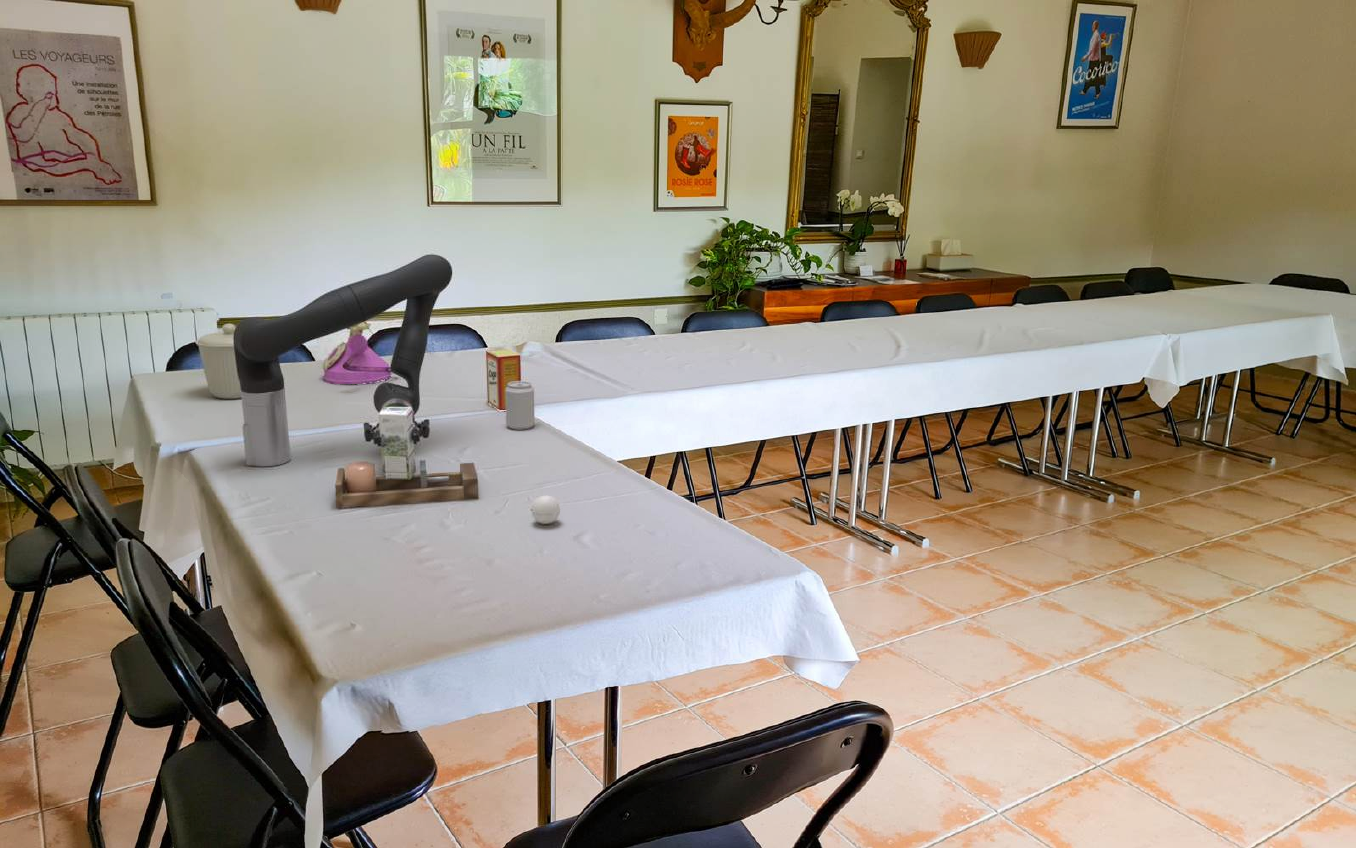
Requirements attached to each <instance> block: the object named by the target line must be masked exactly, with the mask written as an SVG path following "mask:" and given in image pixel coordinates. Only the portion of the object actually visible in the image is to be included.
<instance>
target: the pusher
mask: <svg viewBox="0 0 1356 848" xmlns="http://www.w3.org/2000/svg"><path fill="white" fill-rule="evenodd" d="M419 474H420V477H421V488H420V489H424V488H428V487H427V482H438V481H449V476H443V477H427V475H426V474H427V463H426V459H421V460H419Z"/></svg>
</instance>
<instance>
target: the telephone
mask: <svg viewBox="0 0 1356 848" xmlns="http://www.w3.org/2000/svg"><path fill="white" fill-rule="evenodd" d="M370 326H371V323H367V321H365V322H362V323H360V324H357V325H355V326H352V327H349V328H347V329H346V330H349V336H348V338H347V342H344V341H342V342H341V343H339V344H338V345H337V346H336V347H334V348H333V349H332V351H331V352H330V353H328V355H327V358H325V359H324V361H323V364H322V369H323V372H324V374H323V376H322V377H323V379H324V380H325V382H326V381H327V382H326V383H328V382H331V383H330V384H332V383H334V384H333V385H336V384H363V383H370V382H377V381H381V380H384V379H386V378H388V379H389V378H391V376H392V375H395V374H394V373H393V372H392V371H391V370H390V363H388V362H387V361H386V360H385V359H383V358H382V357H381V356H379V355H378V354H377V353H376V352H375V351H374V350H373V349H372V348H371V347H372V346H374V344H376V343H377V341H378V340H379V336H378V334H377V335H374V333H373V332H372V331H371V329H370ZM364 330H365V331H366V330H369V331H370V332H371V334H372V335H373V337H372V338H371V340H369V341H368V340H367V338H366V337H365V335H363V333H364ZM390 375H391V376H390ZM363 385H364V384H363Z"/></svg>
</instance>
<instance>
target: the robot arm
mask: <svg viewBox="0 0 1356 848" xmlns="http://www.w3.org/2000/svg"><path fill="white" fill-rule="evenodd" d="M452 277H453V267H452V265H451V263H450V262H449V260H447V258H445V257H443V256H441V255H438V254H434V253H433V254H432V253H431V254H425V255H422V256H420V257H419V258H417V259H415V260H413V261H411V262H409V263H407V264H405V265H402V266H401V267H399V268H397V269H394V270H392V271H389V272H386V273H383V274H378V275H375V276H372V277H368V278H365V279H362V280H358V281H355V282H353V283H349V284H346V285H343V286H341V287H338V288H335V289H333V290H330V291H328V292H326V293H324V294H322V295H320V296H319V297H317V298H315V299H313V300H312V301H311V302H309V303H308V304H307V305H305V306H304V307H302V308H301V309H299V310H296V311H294V312H291V313H288V314H286V315H282V316H279V317H276V318H271V319H266V318H263V317H259V316H258V317H257V316H250V317H246V318H244V319H243V320H240V322H239V323H237V325H236V326H235V327H236V328H235V331H234V336H233V342H234V352H235V360H236V368H237V374H238V378H239V382H240V389H241V398H240V399H241V406H242V407H241V409H242V416H243V424H242V435H243V436H242V438H243V443H244V444H243V445H244V453H245V455H244V456H245V464H246V466H254V467H273V466H279V465H283V464H286V463H288V462H290V461H291V460H292V459H291V447H290V444H291V443H290V435H289V434H290V432H289V422H288V421H289V420H288V411H287V410H288V409H287V401H286V400H287V399H286V389H285V388H286V387H285V377H284V375H283V373H282V368H281V364H280V363H281V362H280V358H279V357H280V356H282V355H283V354H286V353H288V352H290V351H292V350H293V349H295V348H298V347H300V346H302V345H304V344H306V343H308V342H311V341H314V340H317V339H321V338H323V337H326V336H330V335H332V334H335V333H337V332H340V331H343V330H348V329H347V328H349V327H352V326H355V325H357V324H360V323H362V322H367V321H369V320H370V319H373V318H375V317H377V316H379V315H380V314H383V313H384V312H386V311H388V310H389V309H391V308H392V307H394V306H396V305H398V304H399V303H402V302H404V301H406V304H405V309H404V315H403V319H402V322H401V327H400V329H399V333H398V337H397V339H396V344H395V347H394V351H393V354H392V357H391V361H390V364H389V367H390V370H391V371H392V374H393V373H394V374H393V375H397V376H398V377H400V378H401V379H404V380H405V382H406V384H407V386H403V385H400V384H395V383H392V382H386V381H385V382H381V384H379V385H378V386H377V387H376V388H375V390H374V393H373V406H374V409H375V410H376V411H377V412H378V414H379V413H380V412H381V410H382V409H383V408H384V407H411V408H412V417H413V444H414V445H417V444H418V443H419V442H421V437H422V438H423V439H428V438H429V437H430V432H431V427H430V426H431V423H430V419H427V418H426V419H424V420H423V421H421V422H419V423H418V421H416V418H415V415H416V414H417V413H418V411H419V409H420V404H421V399H420V398H421V397H420V377H421V370H422V367H423V362H424V359H425V354H426V351H427V346H428V338H429V326H430V321H431V317H432V313H433V310H434V307H435V304H436V303H437V300H438V299H439V296H440V294H441V292H442V293H443V291H444V290H445V289H446V288H447V287H448V286H449V284H450V283H451V280H452ZM362 424H363V434H364V435H363V436H364V439H365V442H368V443H370V442H372V440H373V444H374V445H377V447H381V439H380V426H379V422H378V423H376V425H372V423H371V424H370V423H369V422H364V423H362Z"/></svg>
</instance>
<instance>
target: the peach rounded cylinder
mask: <svg viewBox="0 0 1356 848" xmlns="http://www.w3.org/2000/svg"><path fill="white" fill-rule="evenodd" d="M344 470H345V479H346V490H347V492H346V494H349V493H364V492H378V490H377V485H376V477H377V473H376V464H375V462H372V461H371V462H370V461H355V462H351V463H348V464H345V466H344Z"/></svg>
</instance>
